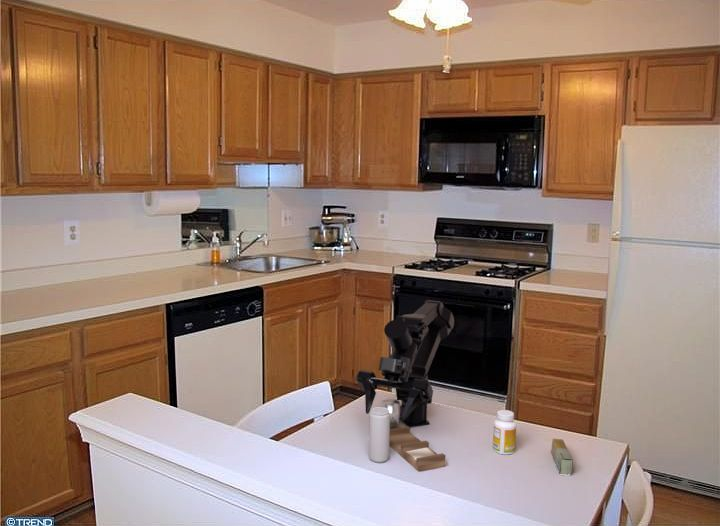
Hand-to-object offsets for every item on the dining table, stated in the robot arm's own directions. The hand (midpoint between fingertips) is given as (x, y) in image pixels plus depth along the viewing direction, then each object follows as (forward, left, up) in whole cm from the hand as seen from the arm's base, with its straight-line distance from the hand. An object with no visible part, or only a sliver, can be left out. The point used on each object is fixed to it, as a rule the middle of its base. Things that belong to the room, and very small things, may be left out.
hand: (384, 416), depth 151 cm
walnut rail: (-7, -2, -9) cm, 12 cm away
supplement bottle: (-28, +9, -10) cm, 31 cm away
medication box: (-37, +20, -10) cm, 43 cm away
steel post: (-7, -10, -8) cm, 15 cm away
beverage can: (+2, +2, -10) cm, 10 cm away
